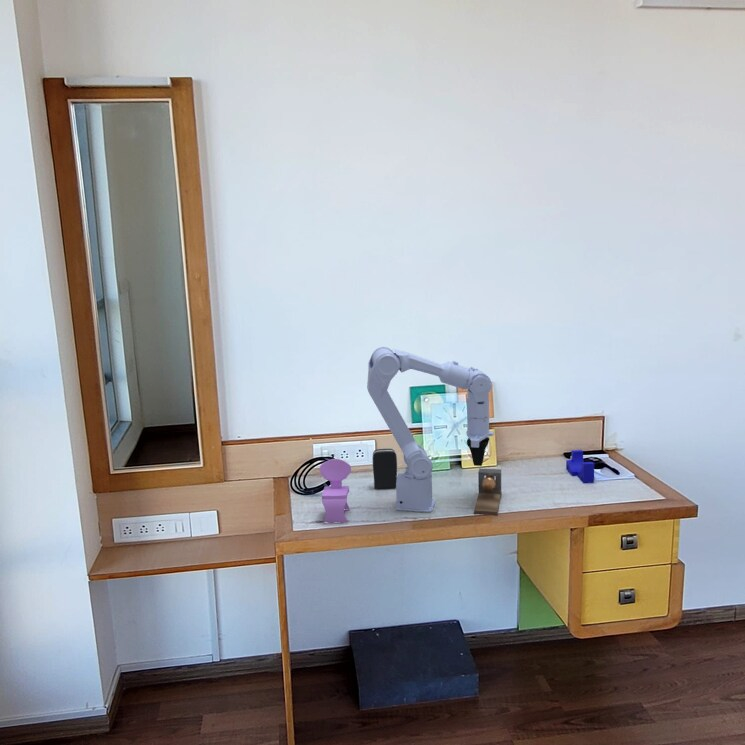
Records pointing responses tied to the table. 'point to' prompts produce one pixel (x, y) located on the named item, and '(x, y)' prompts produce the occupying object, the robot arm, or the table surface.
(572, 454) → the blue stepped block
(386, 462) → the battery
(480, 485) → the housing
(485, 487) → the light bulb
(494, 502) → the board
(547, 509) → the table surface
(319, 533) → the table surface
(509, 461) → the table surface
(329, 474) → the toy chair
